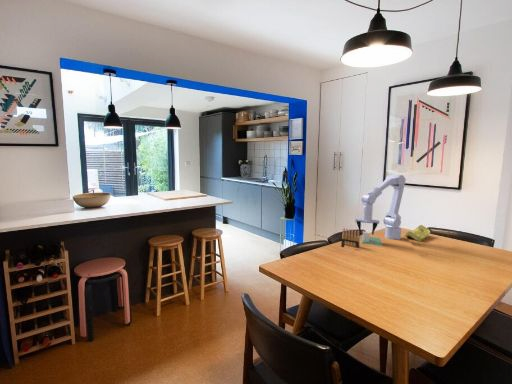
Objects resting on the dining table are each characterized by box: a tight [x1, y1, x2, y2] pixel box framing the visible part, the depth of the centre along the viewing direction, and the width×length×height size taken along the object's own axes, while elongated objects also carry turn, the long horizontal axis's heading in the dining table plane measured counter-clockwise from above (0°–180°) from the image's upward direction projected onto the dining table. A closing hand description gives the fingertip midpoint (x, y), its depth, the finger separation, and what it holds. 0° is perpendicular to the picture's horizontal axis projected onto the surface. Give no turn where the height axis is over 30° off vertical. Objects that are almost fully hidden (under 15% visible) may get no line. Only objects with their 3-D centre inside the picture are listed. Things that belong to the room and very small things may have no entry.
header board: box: [360, 235, 384, 247], centre depth 187 cm, size 12×18×4 cm, turn 162°
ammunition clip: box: [340, 227, 361, 251], centre depth 177 cm, size 11×2×12 cm, turn 55°
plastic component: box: [403, 224, 431, 242], centre depth 202 cm, size 20×7×10 cm
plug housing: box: [362, 231, 370, 242], centre depth 187 cm, size 4×7×5 cm, turn 162°
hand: (366, 233), depth 187 cm, fingers open, 7 cm apart
